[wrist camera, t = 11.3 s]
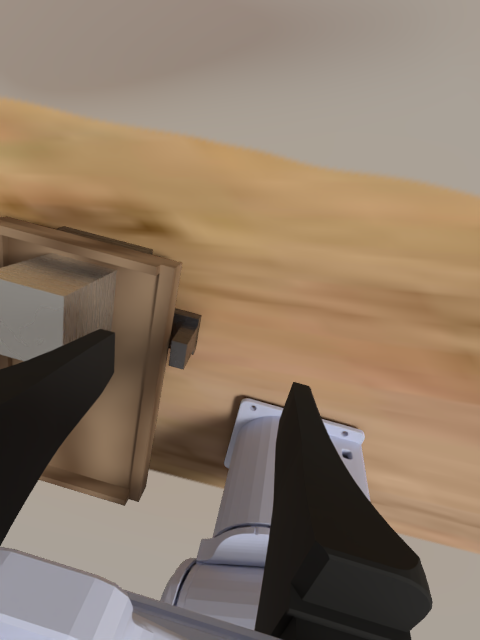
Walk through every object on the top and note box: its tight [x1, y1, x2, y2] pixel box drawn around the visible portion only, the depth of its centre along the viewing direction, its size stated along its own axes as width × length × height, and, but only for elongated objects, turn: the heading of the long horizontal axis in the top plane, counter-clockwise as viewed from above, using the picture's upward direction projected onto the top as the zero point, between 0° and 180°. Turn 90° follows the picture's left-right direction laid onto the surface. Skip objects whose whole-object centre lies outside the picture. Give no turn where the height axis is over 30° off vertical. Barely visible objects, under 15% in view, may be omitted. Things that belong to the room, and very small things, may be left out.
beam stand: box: [57, 226, 201, 369], centre depth 25 cm, size 14×17×3 cm
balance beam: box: [0, 217, 182, 506], centre depth 23 cm, size 11×18×2 cm, turn 168°
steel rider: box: [0, 253, 117, 361], centre depth 19 cm, size 4×4×5 cm
